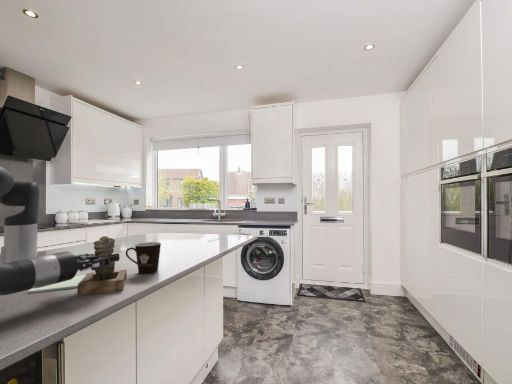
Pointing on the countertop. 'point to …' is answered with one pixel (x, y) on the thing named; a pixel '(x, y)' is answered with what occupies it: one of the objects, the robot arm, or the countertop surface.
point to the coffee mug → (146, 257)
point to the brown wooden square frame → (102, 283)
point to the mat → (60, 285)
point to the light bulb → (102, 249)
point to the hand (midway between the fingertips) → (112, 256)
